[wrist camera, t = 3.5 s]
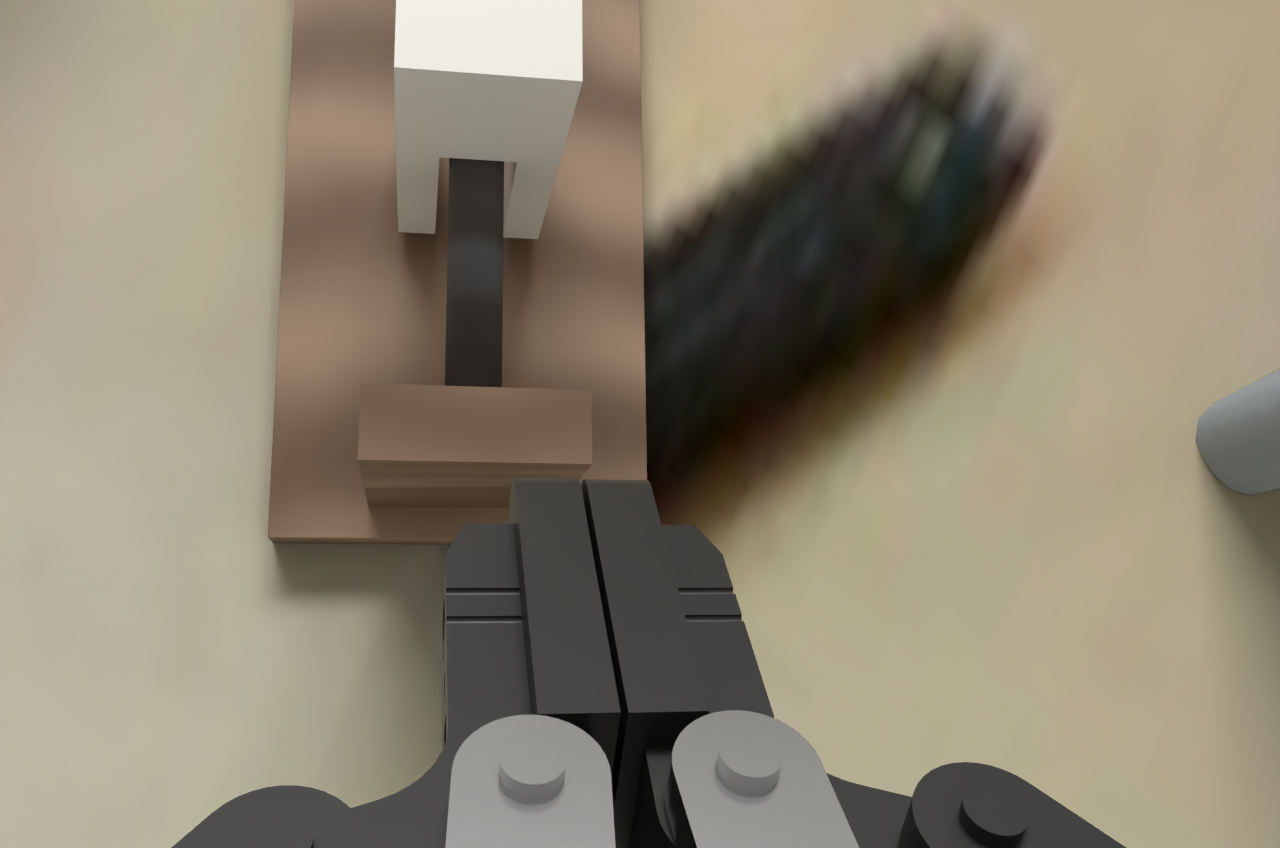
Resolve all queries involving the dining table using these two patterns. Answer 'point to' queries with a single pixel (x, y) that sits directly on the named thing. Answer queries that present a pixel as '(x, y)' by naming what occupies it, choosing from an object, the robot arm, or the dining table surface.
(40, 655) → the dining table surface
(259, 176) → the dining table surface
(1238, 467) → the flask
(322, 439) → the cord stand
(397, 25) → the white slider block
